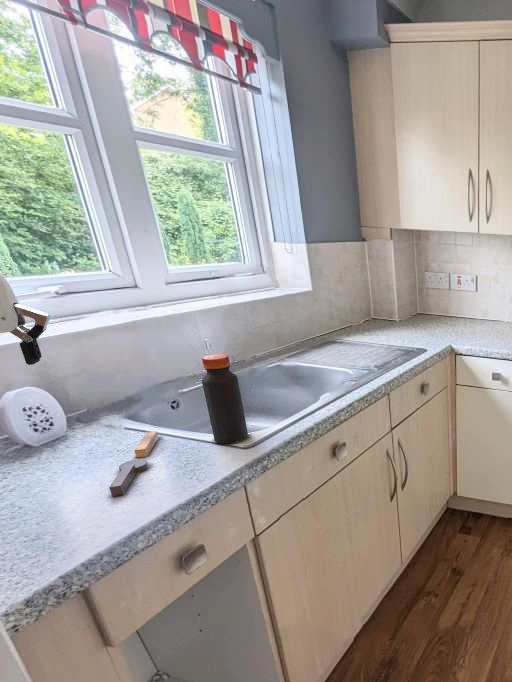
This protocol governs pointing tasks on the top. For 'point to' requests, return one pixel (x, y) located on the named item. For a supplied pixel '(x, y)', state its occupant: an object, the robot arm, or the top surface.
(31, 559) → the top surface
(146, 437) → the wooden bar
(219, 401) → the bottle
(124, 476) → the spoon
